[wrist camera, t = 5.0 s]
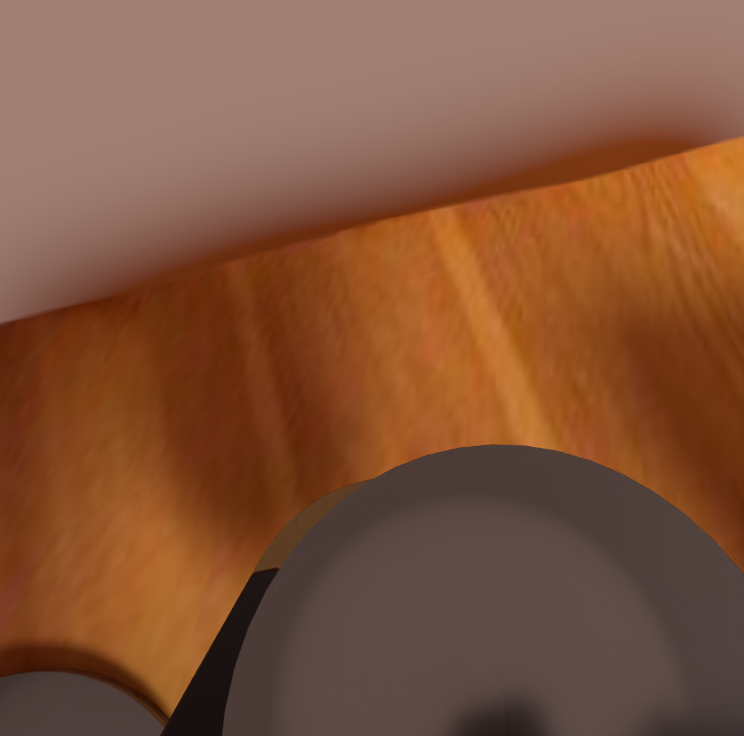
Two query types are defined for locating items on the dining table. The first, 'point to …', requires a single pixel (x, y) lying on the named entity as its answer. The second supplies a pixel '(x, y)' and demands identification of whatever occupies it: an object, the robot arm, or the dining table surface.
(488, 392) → the dining table surface
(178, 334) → the dining table surface
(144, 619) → the dining table surface
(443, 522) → the grey and gold stamper
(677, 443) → the dining table surface
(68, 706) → the plate
